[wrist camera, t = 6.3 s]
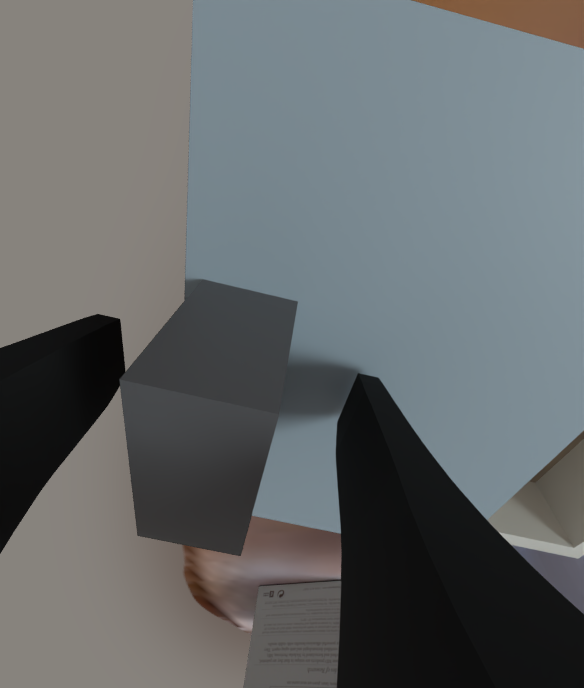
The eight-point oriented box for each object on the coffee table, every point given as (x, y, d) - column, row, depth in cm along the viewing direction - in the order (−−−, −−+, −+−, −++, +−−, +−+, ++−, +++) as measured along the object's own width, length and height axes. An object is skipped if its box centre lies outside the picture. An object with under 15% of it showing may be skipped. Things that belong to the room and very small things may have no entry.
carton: (534, 483, 19) (578, 558, 16) (336, 441, 19) (339, 509, 15) (851, 196, 10) (1105, 228, 7) (490, 98, 10) (576, 81, 6)
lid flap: (443, 537, 15) (484, 679, 11) (185, 484, 15) (133, 614, 11) (839, 136, 6) (1727, 148, 2) (209, -39, 6) (-55, -421, 2)
